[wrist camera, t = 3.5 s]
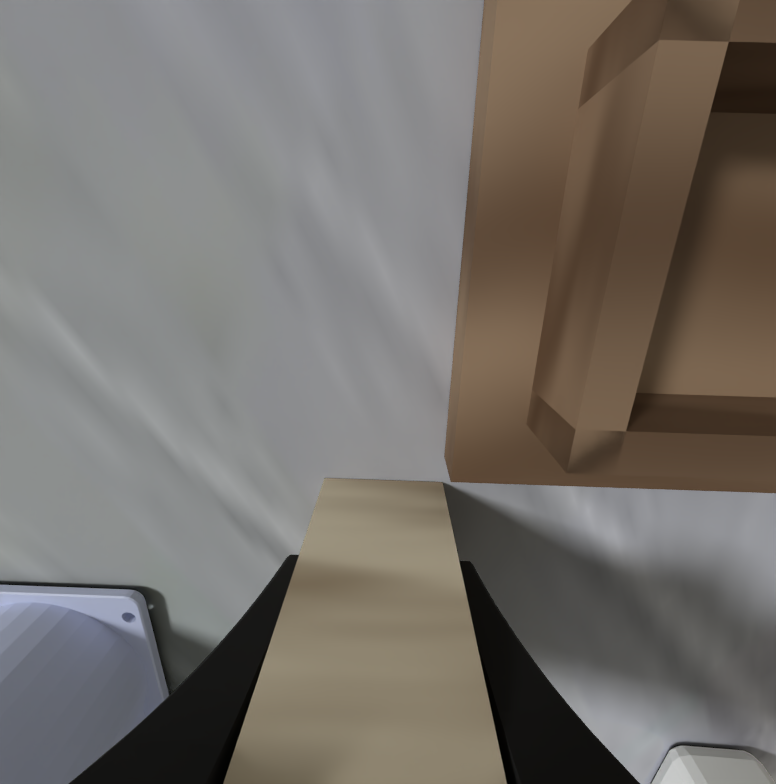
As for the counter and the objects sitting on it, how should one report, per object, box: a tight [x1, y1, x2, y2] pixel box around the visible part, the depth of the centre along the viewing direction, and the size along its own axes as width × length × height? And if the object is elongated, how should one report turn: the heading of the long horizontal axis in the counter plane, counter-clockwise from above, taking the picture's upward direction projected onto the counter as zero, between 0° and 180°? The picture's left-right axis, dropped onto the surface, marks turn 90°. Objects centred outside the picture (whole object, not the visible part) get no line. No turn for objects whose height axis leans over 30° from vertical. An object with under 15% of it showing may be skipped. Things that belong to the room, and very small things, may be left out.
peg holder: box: [444, 0, 776, 493], centre depth 8 cm, size 12×12×4 cm
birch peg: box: [223, 478, 507, 784], centre depth 9 cm, size 4×4×8 cm
